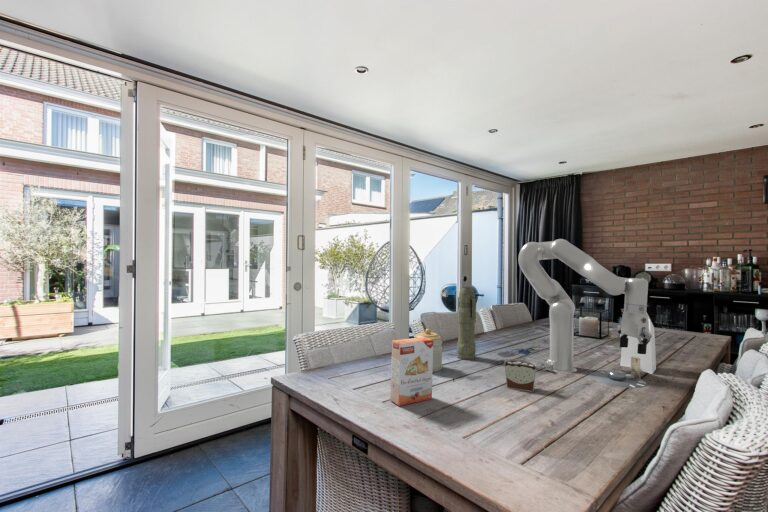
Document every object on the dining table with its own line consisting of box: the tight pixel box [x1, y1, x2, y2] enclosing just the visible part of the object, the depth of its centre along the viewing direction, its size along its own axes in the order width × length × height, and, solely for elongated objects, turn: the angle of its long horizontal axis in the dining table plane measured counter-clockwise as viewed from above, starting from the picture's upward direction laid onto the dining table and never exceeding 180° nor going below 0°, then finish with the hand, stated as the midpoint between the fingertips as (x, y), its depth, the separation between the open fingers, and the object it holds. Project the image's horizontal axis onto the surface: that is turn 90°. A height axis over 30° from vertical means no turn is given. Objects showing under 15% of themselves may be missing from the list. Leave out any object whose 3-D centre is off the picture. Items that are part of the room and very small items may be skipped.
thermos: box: [456, 286, 477, 361], centre depth 184 cm, size 9×12×35 cm
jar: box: [414, 328, 443, 373], centre depth 165 cm, size 13×13×18 cm
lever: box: [607, 357, 641, 380], centre depth 149 cm, size 13×6×8 cm, turn 94°
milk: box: [619, 311, 657, 375], centre depth 169 cm, size 12×12×26 cm
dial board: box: [588, 371, 648, 389], centre depth 149 cm, size 20×20×1 cm
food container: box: [502, 358, 539, 392], centre depth 142 cm, size 12×6×10 cm, turn 65°
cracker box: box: [390, 337, 434, 407], centre depth 127 cm, size 14×6×21 cm, turn 121°
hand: (632, 350), depth 150 cm, fingers open, 9 cm apart
